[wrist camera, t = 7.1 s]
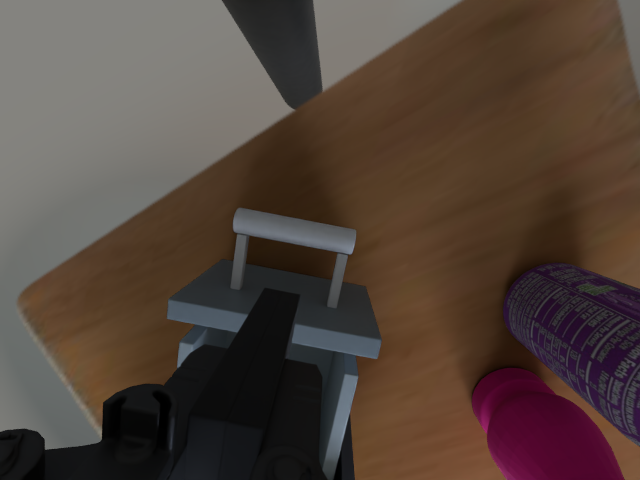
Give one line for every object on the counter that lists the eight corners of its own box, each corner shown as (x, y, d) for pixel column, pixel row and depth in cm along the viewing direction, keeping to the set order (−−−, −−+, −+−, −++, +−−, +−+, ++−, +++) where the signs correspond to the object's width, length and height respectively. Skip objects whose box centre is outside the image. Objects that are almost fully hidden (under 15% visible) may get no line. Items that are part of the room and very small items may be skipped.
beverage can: (601, 327, 24) (857, 471, 12) (511, 354, 25) (667, 512, 13) (579, 246, 23) (838, 317, 11) (487, 278, 24) (633, 375, 12)
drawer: (229, 195, 22) (175, 204, 14) (380, 224, 22) (405, 248, 14) (204, 405, 26) (151, 499, 18) (332, 429, 26) (332, 534, 18)
